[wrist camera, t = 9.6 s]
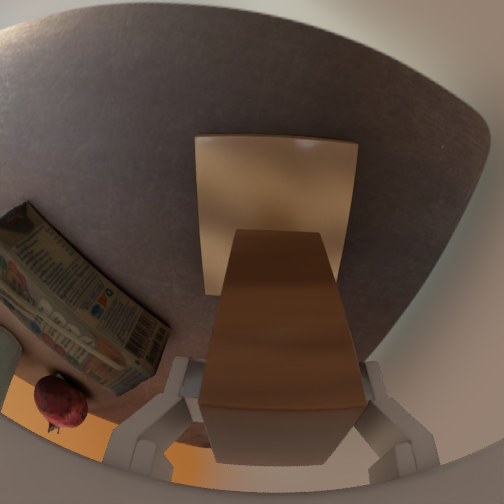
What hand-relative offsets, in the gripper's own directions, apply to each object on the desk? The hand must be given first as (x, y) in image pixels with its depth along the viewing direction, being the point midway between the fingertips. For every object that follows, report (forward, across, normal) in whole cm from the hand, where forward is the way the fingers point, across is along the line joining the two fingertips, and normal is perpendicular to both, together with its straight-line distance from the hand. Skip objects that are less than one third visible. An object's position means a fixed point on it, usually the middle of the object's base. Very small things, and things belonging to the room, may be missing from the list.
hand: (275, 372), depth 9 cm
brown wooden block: (+6, 0, 0) cm, 6 cm away
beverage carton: (+12, +18, +7) cm, 23 cm away
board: (+12, 0, 0) cm, 12 cm away
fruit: (+12, +31, +29) cm, 44 cm away
